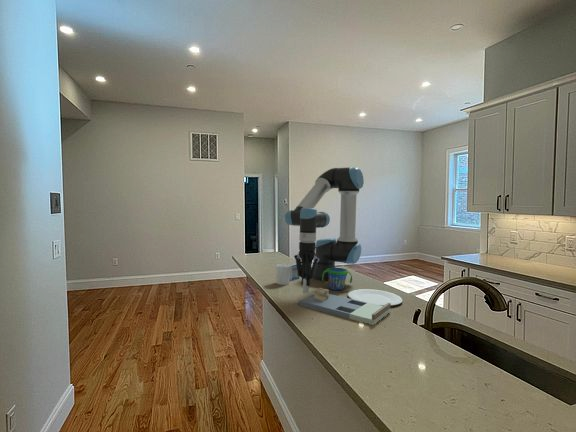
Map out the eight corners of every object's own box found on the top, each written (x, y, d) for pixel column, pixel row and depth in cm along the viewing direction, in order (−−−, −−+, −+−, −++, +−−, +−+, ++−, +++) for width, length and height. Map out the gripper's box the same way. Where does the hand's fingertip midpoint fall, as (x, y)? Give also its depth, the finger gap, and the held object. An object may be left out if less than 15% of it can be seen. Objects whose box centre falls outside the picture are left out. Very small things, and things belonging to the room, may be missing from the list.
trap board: (319, 295, 153) (320, 287, 153) (390, 312, 133) (390, 303, 133) (298, 305, 139) (299, 296, 138) (374, 325, 119) (374, 314, 118)
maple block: (319, 296, 145) (319, 287, 145) (328, 298, 143) (328, 289, 143) (314, 298, 142) (314, 290, 142) (323, 301, 139) (323, 292, 139)
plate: (341, 302, 145) (341, 299, 145) (354, 289, 168) (354, 286, 168) (399, 312, 134) (399, 308, 134) (405, 297, 157) (405, 293, 157)
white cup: (283, 280, 180) (283, 263, 179) (293, 283, 174) (293, 265, 173) (272, 283, 174) (273, 264, 173) (282, 286, 168) (283, 267, 168)
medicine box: (291, 280, 180) (292, 265, 180) (285, 279, 183) (285, 264, 183) (299, 278, 187) (300, 263, 186) (293, 277, 189) (294, 262, 189)
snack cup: (350, 286, 171) (351, 268, 171) (352, 292, 161) (353, 272, 160) (321, 285, 173) (322, 266, 172) (321, 290, 162) (322, 270, 162)
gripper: (291, 240, 147) (289, 291, 148) (315, 243, 139) (313, 297, 140) (300, 239, 153) (298, 288, 154) (324, 242, 145) (322, 293, 146)
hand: (305, 292), depth 147 cm, fingers closed
